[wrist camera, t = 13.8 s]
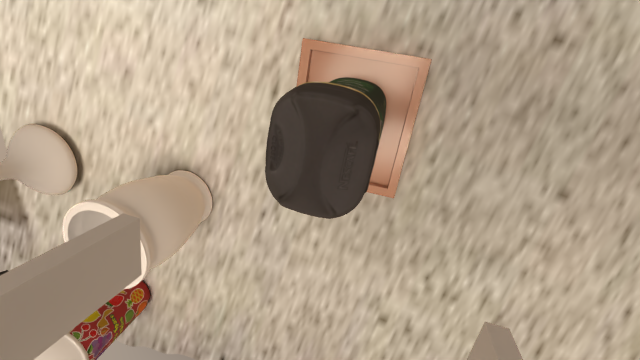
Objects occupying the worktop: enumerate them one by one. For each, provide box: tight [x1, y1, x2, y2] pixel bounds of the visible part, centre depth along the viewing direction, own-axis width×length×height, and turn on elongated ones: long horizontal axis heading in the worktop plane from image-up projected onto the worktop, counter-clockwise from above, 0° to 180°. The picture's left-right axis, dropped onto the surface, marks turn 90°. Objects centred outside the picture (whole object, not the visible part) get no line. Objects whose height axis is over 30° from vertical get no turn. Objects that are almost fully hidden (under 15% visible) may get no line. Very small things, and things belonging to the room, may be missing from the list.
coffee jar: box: [265, 77, 386, 219], centre depth 29 cm, size 10×8×19 cm
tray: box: [297, 38, 432, 198], centre depth 37 cm, size 14×16×2 cm
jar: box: [63, 170, 212, 289], centre depth 40 cm, size 11×10×15 cm
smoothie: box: [34, 281, 150, 360], centre depth 47 cm, size 8×8×20 cm
